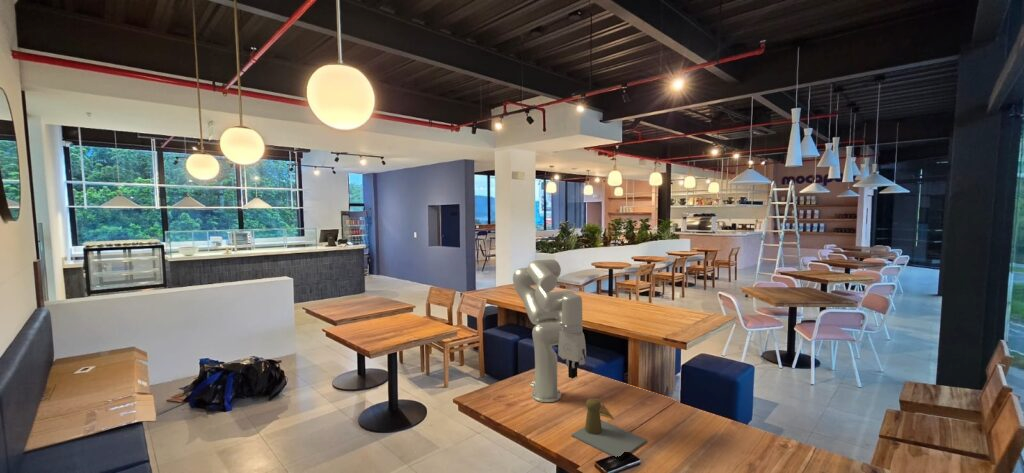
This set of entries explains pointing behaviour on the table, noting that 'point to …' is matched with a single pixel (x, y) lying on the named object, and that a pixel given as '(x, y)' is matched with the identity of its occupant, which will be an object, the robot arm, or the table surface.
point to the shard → (604, 411)
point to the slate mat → (611, 439)
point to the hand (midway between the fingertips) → (572, 377)
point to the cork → (593, 417)
